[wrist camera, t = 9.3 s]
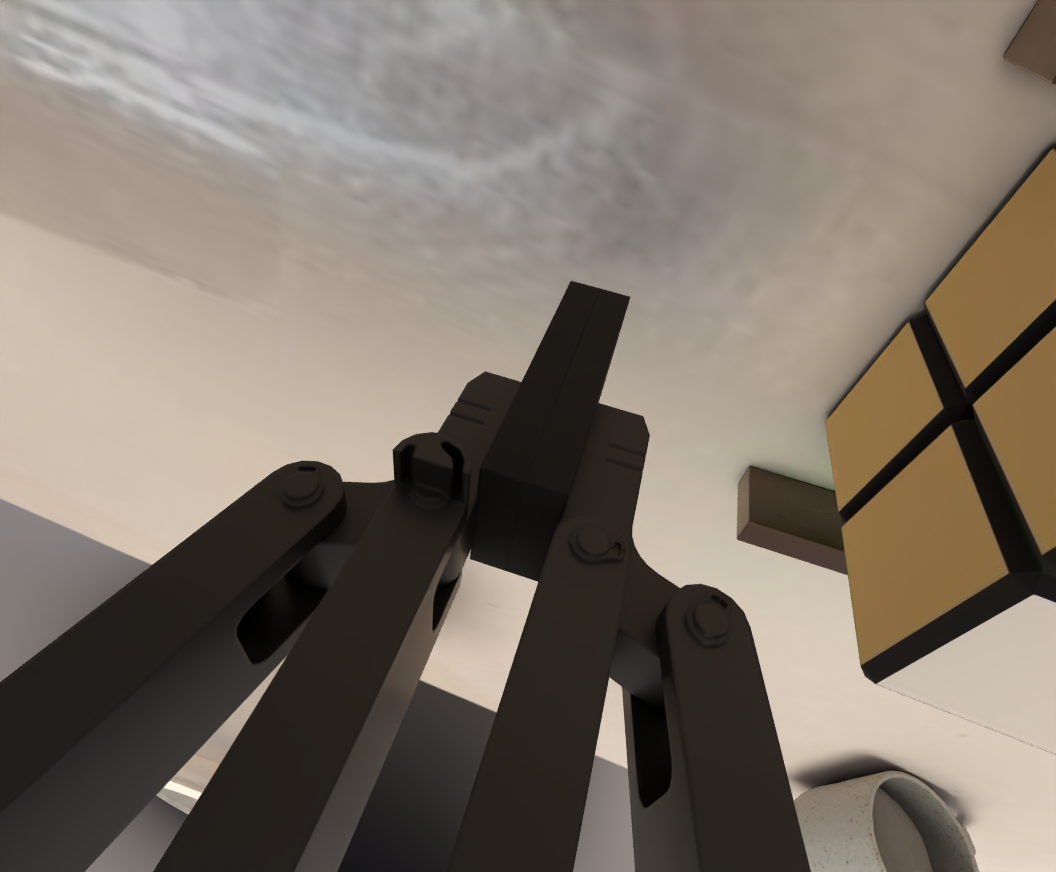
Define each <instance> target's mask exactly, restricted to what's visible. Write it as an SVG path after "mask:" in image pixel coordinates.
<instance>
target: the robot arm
mask: <svg viewBox="0 0 1056 872" xmlns="http://www.w3.org/2000/svg"><path fill="white" fill-rule="evenodd" d="M629 300H630V297H629V296H625V295H622V294H618V293H614V292H611V291H607V290H603V289H600V288H596V287H592V286H588V285H585V284H581V283H577V282H574V281H571V282H570V284H569V286H568V288H567V290H566V292H565V294H564V296H563V298H562V300H561V302H560V304H559V306H558V308H557V310H556V313H555V315H554V317H553V319H552V321H551V323H550V325H549V327H548V329H547V331H546V333H545V335H544V337H543V339H542V341H541V343H540V345H539V347H538V349H537V352H536V354H535V356H534V358H533V360H532V362H531V364H530V366H529V368H528V370H527V372H526V374H525V376H524V378H523V380H522V382H519V381H516V380H512V379H509V378H506V377H502V376H499V375H495V374H492V373H489V372H484V373H482V374H481V375H479V376H478V377H476V378H475V379H473V380H471V381H470V382H468V383H467V385H466V387H465V388H464V390H463V392H462V393H461V395H460V397H459V398H458V402H456V403H455V405H454V407H453V408H452V410H451V412H450V415H448V417H447V418H446V420H445V422H444V423H443V425H442V427H441V428H440V430H439V432H438V433H433V432H430V433H422V434H415V435H413V436H411V437H409V438H406V439H404V440H402V441H401V442H400V443H399V444H398V445H397V446H396V447H395V448H394V449H393V463H394V480H392V481H388V482H380V483H361V482H342V479H341V476H340V474H339V473H338V472H337V471H336V470H335V469H333V468H332V467H331V466H329V465H326V464H324V463H321V462H318V461H300V462H295V463H291V464H287V465H285V466H283V467H281V468H279V469H278V470H276V471H274V472H272V473H271V474H270V475H268V476H267V477H266V478H265V479H263V480H262V481H261V482H259V483H258V484H257V485H255V486H254V487H253V488H252V489H250V490H249V491H248V492H246V493H245V494H244V495H242V496H241V497H240V498H239V499H237V500H236V501H235V502H233V503H232V504H231V505H230V506H228V507H227V508H226V509H224V510H223V511H222V512H220V513H219V514H218V515H217V516H215V517H214V518H213V519H211V520H210V521H209V522H207V523H206V524H205V525H204V526H202V527H201V528H200V529H198V530H197V531H196V532H194V533H193V534H192V535H191V536H189V537H188V538H187V539H185V540H184V541H183V542H181V543H180V544H179V545H178V546H176V547H175V548H174V549H172V550H171V551H170V552H169V553H167V554H166V555H165V556H163V557H162V558H161V559H159V560H158V561H157V562H156V563H154V564H153V565H152V566H150V567H149V568H148V569H147V570H145V571H144V572H143V573H141V574H140V575H139V576H137V577H136V578H135V579H133V580H132V581H131V582H130V583H128V584H127V585H126V586H125V587H123V588H122V589H120V590H119V591H118V592H117V593H115V594H114V595H113V596H112V597H110V598H109V599H108V600H106V601H105V602H104V603H102V604H101V605H100V606H99V607H97V608H96V609H95V610H93V611H92V612H91V613H89V614H88V615H87V616H85V617H84V618H83V619H82V620H80V621H79V622H78V623H76V624H75V625H74V626H73V627H71V628H70V629H69V630H67V631H66V632H65V633H63V634H62V635H61V636H60V637H58V638H57V639H56V640H54V641H53V642H52V643H51V644H49V645H48V646H47V647H45V648H44V649H43V650H41V651H40V652H39V653H37V654H36V655H35V656H34V657H32V658H31V659H30V660H29V661H27V662H26V663H25V664H23V665H22V666H21V667H19V668H18V669H17V670H15V671H14V672H13V673H12V674H10V675H9V676H8V677H6V678H5V679H4V680H2V681H1V682H0V872H85V871H86V870H87V868H88V867H89V866H90V865H91V864H92V863H93V862H94V861H95V860H96V859H97V858H98V857H99V856H100V855H101V854H102V852H103V851H104V850H105V849H106V848H107V847H108V846H109V845H110V844H111V843H112V842H113V841H114V840H115V838H117V836H118V835H119V834H120V833H121V832H122V831H123V830H124V829H125V828H126V827H127V826H128V825H129V824H130V823H131V821H132V820H133V819H134V818H135V817H136V816H137V815H138V814H139V813H140V812H141V811H142V810H143V809H144V807H146V805H148V803H149V802H150V801H151V800H152V799H153V798H154V797H155V796H156V795H157V794H158V793H159V792H160V791H161V790H162V789H163V787H164V786H165V785H166V784H167V783H168V782H169V781H170V780H171V779H172V778H173V777H174V776H175V775H176V774H177V773H178V772H179V770H180V769H181V768H182V767H183V766H184V765H185V764H186V763H187V762H188V761H189V760H190V759H191V758H192V757H193V756H194V754H195V753H196V752H197V751H198V750H199V749H200V748H201V747H202V746H203V745H204V744H205V743H206V742H207V741H208V740H209V738H210V737H211V736H212V735H213V734H214V733H215V732H216V731H217V730H218V729H219V728H220V727H221V726H222V725H223V724H224V723H225V721H226V720H227V719H228V718H229V717H230V716H231V715H232V714H233V713H234V712H235V711H236V710H237V709H238V708H239V707H240V705H241V704H242V703H243V702H244V701H245V700H246V699H247V698H248V697H249V696H250V695H251V694H252V693H253V692H254V691H255V689H256V688H257V687H258V686H259V685H260V684H261V683H262V682H263V681H264V680H265V679H266V678H267V677H268V676H269V675H270V673H271V672H272V671H273V670H274V669H275V668H276V667H277V666H278V665H279V664H280V663H281V662H282V661H283V660H284V659H285V660H284V662H283V663H282V665H281V666H280V668H279V670H278V671H277V673H276V674H275V676H274V678H273V679H272V681H271V683H270V684H269V686H268V687H267V689H266V691H265V692H264V694H263V695H262V697H261V699H260V700H259V702H258V704H257V705H256V707H255V708H254V710H253V712H252V713H251V715H250V716H249V718H248V720H247V721H246V723H245V724H244V726H243V728H242V729H241V731H240V733H239V734H238V736H237V737H236V739H235V741H234V742H233V744H232V745H231V747H230V749H229V750H228V752H227V753H226V755H225V757H224V758H223V760H222V762H221V763H220V765H219V766H218V768H217V770H216V771H215V773H214V774H213V776H212V778H211V779H210V781H209V783H208V784H207V786H206V787H205V789H204V791H203V792H202V794H201V795H200V797H199V799H198V800H197V802H196V803H195V805H194V807H193V808H192V810H191V812H190V813H189V815H188V816H187V818H186V820H185V821H184V823H183V825H182V826H181V828H180V829H179V831H178V832H177V834H176V836H175V837H174V839H173V841H172V842H171V844H170V845H169V847H168V849H167V850H166V852H165V854H164V855H163V857H162V858H161V860H160V862H159V863H158V865H157V866H156V868H155V870H154V871H153V872H337V871H338V868H339V866H340V863H341V861H342V859H343V857H344V854H345V852H346V850H347V847H348V845H349V843H350V840H351V838H352V835H353V833H354V831H355V829H356V826H357V824H358V822H359V819H360V817H361V815H362V812H363V810H364V808H365V805H366V803H367V801H368V798H369V796H370V794H371V791H372V789H373V787H374V784H375V782H376V780H377V777H378V775H379V773H380V770H381V768H382V766H383V763H384V761H385V759H386V756H387V754H388V751H389V749H390V747H391V745H392V742H393V740H394V738H395V735H396V733H397V730H398V728H399V726H400V724H401V721H402V719H403V716H404V714H405V712H406V709H407V707H408V705H409V703H410V700H411V698H412V696H413V693H414V691H415V688H416V686H417V684H418V681H419V679H420V677H421V675H422V672H423V670H424V667H425V665H426V663H427V660H428V658H429V656H430V653H431V651H432V649H433V646H434V644H435V642H436V639H437V637H438V635H439V632H440V630H441V628H442V625H443V623H444V621H445V618H446V616H447V614H448V611H449V609H450V607H451V604H452V602H453V600H454V597H455V595H456V593H457V590H458V588H459V586H460V581H461V576H462V568H463V566H464V563H465V561H466V559H467V557H468V554H469V552H470V550H471V554H470V559H472V560H475V561H478V562H481V563H484V564H487V565H490V566H493V567H496V568H499V569H502V570H505V571H508V572H511V573H514V574H517V575H520V576H523V577H526V578H529V579H532V580H535V581H538V585H537V588H536V591H535V594H534V598H533V601H532V604H531V607H530V610H529V613H528V616H527V619H526V623H525V626H524V629H523V632H522V635H521V638H520V641H519V645H518V648H517V651H516V654H515V657H514V660H513V663H512V666H511V670H510V673H509V676H508V679H507V682H506V685H505V688H504V692H503V695H502V698H501V701H500V704H499V707H498V710H497V713H496V717H495V720H494V723H493V726H492V729H491V732H490V735H489V739H488V742H487V745H486V748H485V751H484V754H483V757H482V760H481V764H480V767H479V770H478V773H477V776H476V779H475V782H474V786H473V789H472V792H471V795H470V798H469V801H468V804H467V807H466V811H465V814H464V817H463V820H462V823H461V826H460V830H459V833H458V836H457V839H456V842H455V845H454V848H453V851H452V855H451V858H450V861H449V864H448V867H447V870H446V872H573V868H574V863H575V857H576V852H577V846H578V841H579V836H580V830H581V825H582V819H583V814H584V808H585V804H586V798H587V793H588V787H589V782H590V777H591V772H592V766H593V760H594V755H595V750H596V745H597V739H598V734H599V729H600V723H601V718H602V713H603V707H604V702H605V697H606V691H607V686H608V680H609V677H610V678H611V679H613V680H614V681H615V682H617V683H618V684H619V685H621V686H622V692H623V706H624V720H625V735H626V749H627V763H628V776H629V791H630V804H631V818H632V833H633V848H634V860H635V872H811V869H810V865H809V861H808V857H807V853H806V849H805V845H804V841H803V837H802V833H801V829H800V825H799V821H798V817H797V813H796V809H795V805H794V801H793V797H792V793H791V789H790V785H789V781H788V777H787V772H786V768H785V764H784V760H783V756H782V752H781V748H780V744H779V740H778V736H777V732H776V728H775V724H774V720H773V716H772V712H771V708H770V704H769V700H768V696H767V692H766V688H765V684H764V680H763V676H762V672H761V668H760V664H759V660H758V656H757V652H756V648H755V643H754V639H753V635H752V631H751V627H750V625H749V623H748V621H747V618H746V616H745V614H744V612H743V611H742V609H741V608H740V607H739V606H738V605H737V604H736V602H735V601H734V600H733V599H732V598H731V597H729V596H728V595H726V594H725V593H723V592H721V591H720V590H718V589H717V588H713V587H710V586H706V585H703V584H694V585H685V586H683V587H682V588H679V587H677V586H676V585H674V584H673V583H671V582H670V581H668V580H667V579H665V578H664V577H662V576H661V575H659V574H658V573H657V572H655V571H654V570H653V569H652V568H650V567H649V566H648V565H647V564H646V563H645V562H644V560H643V559H642V558H641V557H640V555H639V553H638V551H637V550H636V548H635V546H634V542H633V538H632V526H633V520H634V515H635V510H636V505H637V499H638V494H639V489H640V484H641V479H642V473H643V472H642V471H643V468H644V463H645V458H646V457H645V456H646V452H647V447H648V442H649V437H650V435H649V432H648V429H647V426H646V423H645V420H644V417H643V416H640V415H637V414H634V413H630V412H627V411H623V410H620V409H617V408H613V407H610V406H606V405H603V404H600V403H599V399H600V396H601V393H602V390H603V386H604V383H605V380H606V376H607V373H608V370H609V366H610V363H611V360H612V356H613V353H614V350H615V346H616V343H617V340H618V337H619V333H620V330H621V327H622V323H623V320H624V317H625V313H626V310H627V307H628V303H629ZM286 656H287V657H286Z"/></svg>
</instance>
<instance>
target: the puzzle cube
mask: <svg viewBox="0 0 1056 872" xmlns="http://www.w3.org/2000/svg"><path fill="white" fill-rule="evenodd" d="M924 304H925V308H926V312H927V316H924V317H921V318H918V319H914V320H911V321H908V322H907V324H906V325H905V326H904V327H903V329H902V330H901V331H900V332H899V333H898V335H897V336H896V337H895V338H894V339H893V341H892V342H891V343H890V344H889V345H888V347H887V348H886V349H885V350H884V352H883V353H882V354H881V355H880V356H879V358H878V359H877V360H876V361H875V362H874V364H873V365H872V366H871V367H870V368H869V370H868V371H867V372H866V373H865V375H864V376H863V377H862V378H861V379H860V381H859V382H858V383H857V384H856V385H855V387H854V388H853V389H852V390H851V391H850V393H849V394H848V395H847V396H846V398H845V399H844V400H843V401H842V402H841V404H840V405H839V406H838V407H837V408H836V410H835V411H834V412H833V413H832V414H831V416H830V417H829V418H828V419H827V420H826V422H825V425H826V432H827V438H828V445H829V452H830V458H831V465H832V472H833V478H834V485H835V492H836V498H837V505H838V512H839V514H840V517H841V520H842V522H844V523H845V524H844V525H843V526H842V527H841V529H842V536H843V543H844V550H845V558H846V565H847V572H848V579H849V586H850V593H851V601H852V608H853V615H854V622H855V629H856V636H857V643H858V651H859V658H860V665H861V668H862V670H863V673H864V675H865V677H867V678H868V679H869V680H871V681H872V682H873V683H875V684H877V685H879V686H882V687H884V688H887V689H889V690H892V691H894V692H897V693H899V694H902V695H905V696H907V697H910V698H912V699H915V700H917V701H920V702H922V703H925V704H927V705H930V706H933V707H935V708H938V709H940V710H943V711H945V712H948V713H950V714H953V715H956V716H958V717H961V718H963V719H966V720H968V721H971V722H973V723H976V724H978V725H981V726H984V727H986V728H989V729H991V730H994V731H996V732H999V733H1001V734H1004V735H1007V736H1009V737H1012V738H1014V739H1017V740H1019V741H1022V742H1024V743H1027V744H1029V745H1032V746H1035V747H1037V748H1040V749H1042V750H1045V751H1047V752H1050V753H1052V754H1055V755H1056V147H1053V148H1052V149H1051V150H1050V151H1049V153H1048V154H1047V155H1046V156H1045V157H1044V159H1043V160H1042V161H1041V162H1040V164H1039V165H1038V166H1037V167H1036V168H1035V170H1034V171H1033V172H1032V173H1031V174H1030V176H1029V177H1028V178H1027V179H1026V180H1025V182H1024V183H1023V184H1022V185H1021V186H1020V188H1019V189H1018V190H1017V191H1016V193H1015V194H1014V195H1013V196H1012V197H1011V199H1010V200H1009V201H1008V202H1007V203H1006V205H1005V206H1004V207H1003V208H1002V209H1001V211H1000V212H999V213H998V214H997V216H996V217H995V218H994V219H993V220H992V222H991V223H990V224H989V225H988V226H987V228H986V229H985V230H984V231H983V232H982V234H981V235H980V236H979V237H978V238H977V240H976V241H975V242H974V243H973V245H972V246H971V247H970V248H969V249H968V251H967V252H966V253H965V254H964V255H963V257H962V258H961V259H960V260H959V261H958V263H957V264H956V265H955V266H954V267H953V269H952V270H951V271H950V272H949V274H948V275H947V276H946V277H945V278H944V280H943V281H942V282H941V283H940V284H939V286H938V287H937V288H936V289H935V290H934V292H933V293H932V294H931V295H930V297H929V298H928V299H927V300H926V301H925V303H924Z"/></svg>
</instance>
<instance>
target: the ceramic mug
mask: <svg viewBox="0 0 1056 872" xmlns="http://www.w3.org/2000/svg"><path fill="white" fill-rule="evenodd" d="M794 805H795V809H796V813H797V817H798V821H799V825H800V829H801V833H802V837H803V841H804V845H805V849H806V853H807V857H808V861H809V865H810V869H811V872H979V870H978V866H977V863H976V860H975V857H974V855H975V853H976V850H975V847H974V845H973V843H972V840H971V838H970V836H969V833H968V831H967V829H966V827H965V826H964V825H963V824H959V822H958V821H957V819H956V818H955V816H954V814H953V813H952V811H951V810H950V809H949V808H948V806H947V805H946V804H945V803H944V801H943V800H942V799H941V798H940V797H939V796H938V794H936V793H935V792H934V791H933V790H932V789H931V788H930V787H928V786H927V785H926V784H925V783H923V782H922V781H920V780H919V779H917V778H915V777H913V776H911V775H909V774H906V773H904V772H899V771H885V772H881V773H877V774H872V775H868V776H863V777H859V778H854V779H850V780H846V781H843V782H839V783H834V784H829V785H824V786H819V787H815V788H813V789H810V790H808V791H807V792H805V793H803V794H801V795H800V796H799V797H798V798H796V799H795V801H794Z"/></svg>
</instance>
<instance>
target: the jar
mask: <svg viewBox="0 0 1056 872" xmlns="http://www.w3.org/2000/svg"><path fill="white" fill-rule="evenodd" d="M286 657H287V656H286ZM284 660H285V659H284ZM284 660H283V661H282V662H281V663H280V664H279V665H278V666H277V667H276V668H275V669H274V670H273V671H272V672H271V673H270V675H269V676H268V677H267V678H266V679H265V680H264V681H263V682H262V683H261V684H260V685H259V686H258V687H257V688H256V689H255V691H254V692H253V693H252V694H251V695H250V696H249V697H248V698H247V699H246V700H245V701H244V702H243V703H242V704H241V705H240V707H239V708H238V709H237V710H236V711H235V712H234V713H233V714H232V715H231V716H230V717H229V718H228V719H227V720H226V721H225V723H224V724H223V725H222V726H221V727H220V728H219V729H218V730H217V731H216V732H215V733H214V734H213V735H212V736H211V737H210V738H209V740H208V741H207V742H206V743H205V744H204V745H203V746H202V747H201V748H200V749H199V750H198V751H197V752H196V753H195V754H194V756H193V757H192V758H191V759H190V760H189V761H188V762H187V763H186V764H185V765H184V766H183V767H182V768H181V769H180V770H179V772H178V773H177V774H176V775H175V776H174V777H173V778H172V779H171V780H170V781H169V782H168V783H167V784H166V785H165V786H164V787H163V789H162V790H161V791H160V792H159V793H158V794H157V796H158V797H160V798H161V799H163V800H164V801H166V802H168V803H169V804H171V805H173V806H174V807H176V808H178V809H179V810H181V811H183V812H185V813H187V814H189V813H190V812H191V810H192V808H193V807H194V805H195V803H196V802H197V800H198V799H199V797H200V795H201V794H202V792H203V791H204V789H205V787H206V786H207V784H208V783H209V781H210V779H211V778H212V776H213V774H214V773H215V771H216V770H217V768H218V766H219V765H220V763H221V762H222V760H223V758H224V757H225V755H226V753H227V752H228V750H229V749H230V747H231V745H232V744H233V742H234V741H235V739H236V737H237V736H238V734H239V733H240V731H241V729H242V728H243V726H244V724H245V723H246V721H247V720H248V718H249V716H250V715H251V713H252V712H253V710H254V708H255V707H256V705H257V704H258V702H259V700H260V699H261V697H262V695H263V694H264V692H265V691H266V689H267V687H268V686H269V684H270V683H271V681H272V679H273V678H274V676H275V674H276V673H277V671H278V670H279V668H280V666H281V665H282V663H283V662H284Z"/></svg>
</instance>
